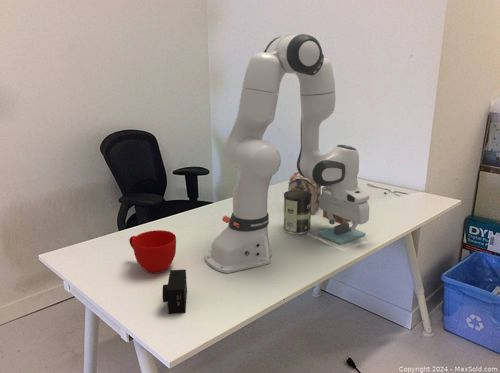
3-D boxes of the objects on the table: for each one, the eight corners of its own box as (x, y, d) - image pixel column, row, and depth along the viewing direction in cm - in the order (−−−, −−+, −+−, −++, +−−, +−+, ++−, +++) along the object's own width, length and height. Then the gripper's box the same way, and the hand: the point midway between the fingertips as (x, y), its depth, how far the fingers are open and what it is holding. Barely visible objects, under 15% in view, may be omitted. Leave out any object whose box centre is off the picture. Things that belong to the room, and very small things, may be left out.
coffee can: (311, 225, 158) (312, 190, 154) (309, 235, 149) (310, 199, 144) (284, 223, 160) (285, 189, 156) (281, 233, 151) (282, 197, 146)
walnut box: (341, 225, 157) (342, 208, 155) (322, 218, 165) (323, 201, 163) (362, 218, 164) (363, 202, 162) (343, 211, 172) (344, 196, 169)
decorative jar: (314, 217, 166) (316, 174, 161) (287, 213, 170) (287, 172, 165) (320, 207, 177) (322, 167, 171) (294, 204, 181) (295, 165, 175)
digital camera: (167, 292, 113) (165, 269, 111) (187, 291, 114) (185, 268, 112) (163, 314, 103) (161, 290, 101) (185, 313, 104) (183, 289, 102)
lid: (340, 247, 139) (341, 234, 138) (317, 237, 148) (317, 224, 147) (365, 238, 147) (366, 225, 145) (341, 228, 155) (342, 216, 154)
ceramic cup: (146, 252, 137) (144, 224, 134) (186, 264, 128) (184, 235, 125) (116, 269, 126) (113, 239, 123) (158, 283, 118) (155, 251, 115)
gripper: (316, 185, 148) (314, 221, 152) (361, 200, 133) (358, 239, 137) (328, 182, 152) (326, 217, 156) (373, 196, 136) (370, 234, 140)
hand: (341, 227), depth 146 cm, fingers open, 8 cm apart
